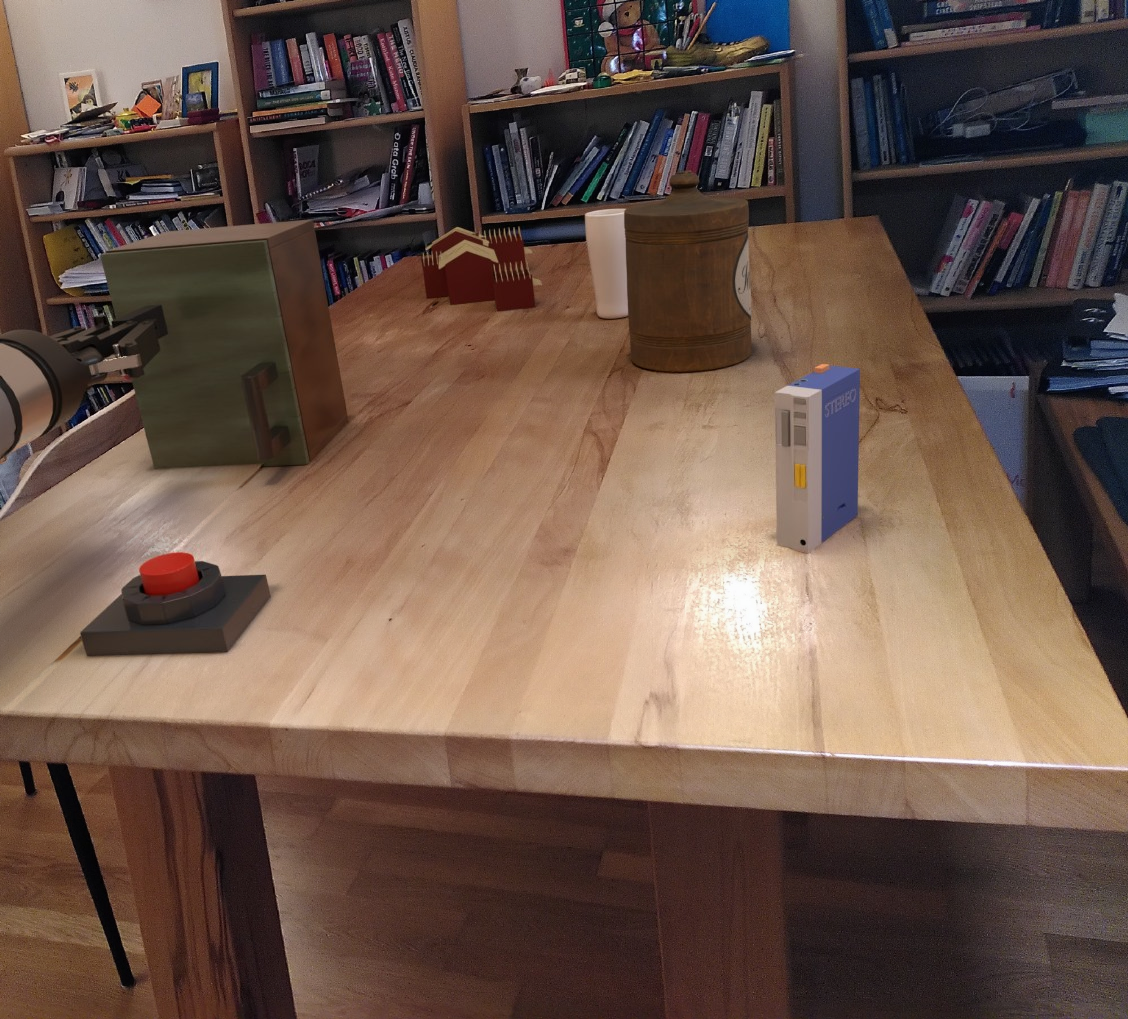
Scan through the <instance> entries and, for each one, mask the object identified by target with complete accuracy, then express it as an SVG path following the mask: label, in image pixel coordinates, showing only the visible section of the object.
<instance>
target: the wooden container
mask: <svg viewBox="0 0 1128 1019" xmlns="http://www.w3.org/2000/svg"><path fill="white" fill-rule="evenodd" d="M699 183H700V179H699V176H698V174H696V173H694V172H693V171H692V170H682V171H676V172H675V174H673V175H671V177H670V178H669V187H671V188H672V190H671V192H670V194H669V195H668V196H667V197H666V198H665V199H664V200H662V201H654V202H647V203H642V204H638V205H634V206H630V207H628V208H625V209H626V210H625V211H624V228H625V238H626V240H625V241H626V271H627V300H628V316H627V317H628V318H627V320H628V332H629V346H630V359H631V362H632V363H633V364H634V365H635V366H637V367H640V368H643V369H645V370H650V371H657V372H666V373H688V372H689V373H690V372H692V373H693V372H702V371H703V372H704V371H712V370H717V369H723V368H726V367H731V366H733V365H736V364H739V363H741V362H743V361H745V360H747V359H748V358H749V357H750V356H751V355H752V296H751V295H752V294H751V293H752V292H751V273H750V272H751V271H750V249H749V247H750V246H749V225H750V224H749V223H750V221H749V220H750V210H749V209H750V208H749V201H748V200H747V199H745V198H739V197H724V196H721V197H720V196H719V197H718V196H716V197H715V196H714V197H713V196H710V197H709V196H707V197H706V196H705V195H704V194H703V193H702V192H701V191H700V190H699V189H698V188H697V187H698V185H699Z"/></svg>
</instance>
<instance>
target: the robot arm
mask: <svg viewBox="0 0 1128 1019" xmlns="http://www.w3.org/2000/svg"><path fill="white" fill-rule="evenodd" d="M92 320H93V321H92V322H93V324H94V326H92V327H91V326H90V327H89V328H86V327H85V326H79V325H78V326H74V327H73V328H70V329H67V330H64V331H61V332H59V333H58V332H57V333H55V334H52V335H48V334H45V333H42V332H41V331H40V332H39V331H36V330H31V329H14V330H10V331H7V332H4V333H1V334H0V465H4V464H5V463H7V461H8V457H7V456H9V455H10V454H13V453H14V452H15V451H17V450H19V449H21V448H22V447H24V446H27V445H28V444H29V443H32V442H33V441H34V440H36V439H38V438H40V437H43V436H44V435H46V434H48V433H50V432H52V431H53V430H56V429H57V428H59V427H60V426H62V425H64V424H65V423H67V422H69V421H70V420H71V419H72V418H73V417H75V414H76V413H77V412H78V410H79V409H80V406H81V404H82V401H83V398H84V395H85V393H86V392H88V391H90V390H91V389H92V388H93V385H97V384H100V383H102V382H103V381H105V380H106V379H107V378H108V373H111V372H115V371H118V373H119V376H121V377H124V376H127V377H128V378H131V377H132V378H138V377H140V376H142V375H144V374H145V373H144V369H143V368H144V367H145V366H146V365H147V364H148V363H149V362H150V361H151V360H152V359H153V358H154V357H155V356H156V355H157V353H158V352H159V351H160V346H159V342H158V339H159V338H161V337H163V336H165V335H167V334H168V330H167V326H166V322H165V317H164V313H163V309H162V305H150V306H144V307H142V308H140V309H138V310H136V311H133V312H131V313H129V314H127V315H124V316H122V317H120V318H118V319H116V318H115V319H113V320H110V323H109V319H108V316H107V314H99V315H95V316H92ZM110 324H111V325H110Z"/></svg>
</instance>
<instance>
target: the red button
mask: <svg viewBox="0 0 1128 1019" xmlns="http://www.w3.org/2000/svg"><path fill="white" fill-rule="evenodd" d="M195 561H196V560H195V557H194V555H193V554H191V553H189V552H184V551H183V552H182V551H181V552H180V551H177V552H168V553H165V554H161V555H157V556H155V557H152V558H150V559H148V560H146V561H144V562H143V563H142V564H141V565H140V566H139V568H138V572H139V575H140V576H141V579H142V583H143V587H144V591H145V594H146V595H149V596H160V595H169V594H173V593H177V592H181V591H184V590H186V589H188V588H190V587H192V586H194V585H196V584H197V583H198V582H199V576H198V572H197V568H196V564H195Z"/></svg>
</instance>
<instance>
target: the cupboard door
mask: <svg viewBox="0 0 1128 1019" xmlns="http://www.w3.org/2000/svg"><path fill="white" fill-rule="evenodd" d="M99 256H100V261H101V264H102V269H103V272H104V277H105V281H106V285H107V288H108V289H107V290H108V292H109V296H110V300H111V304H112V309H113V312H114V315H115V319H118V318H120V317H122V316H124V315H127V314H129V313H131V312H133V311H136V310H138V309H140V308H142V307H144V306H150V305H162V309H163V313H164V317H165V322H166V326H167V330H168V334H167V335H165V336H163V337H161V338H159V339H158V342H159V346H160V351H159V352H158V353H157V355H156V356H155V357H154V358H153V359H152V360H151V361H150V362H149V363H148V364H147V365H146V366H145V367H144V368H143V369H144V373H145V374H144V375H142V376H140V377H138V378H132V377H130V379H131V383H132V387H133V391H134V394H135V398H136V403H137V406H138V410H139V413H140V417H141V421H142V426H143V430H144V433H145V438H146V441H147V445H148V449H149V455H150V458H151V461H152V465H153V469H154V470H162V469H165V470H166V469H183V468H200V467H201V468H203V467H220V466H223V467H224V466H238V465H239V466H241V465H258V464H261V465H260V466H259V468H266V467H268V468H269V467H285V466H286V467H287V466H304V465H309V463H311V462H310V461H309V456H308V450H307V445H306V440H305V435H304V430H303V425H302V419H301V414H300V409H299V404H298V399H297V394H296V389H295V383H294V378H293V373H292V368H291V363H290V358H289V352H288V347H287V342H286V337H285V332H284V327H283V322H282V316H281V311H280V306H279V301H278V296H277V291H276V285H275V280H274V275H273V270H272V265H271V260H270V255H269V249H268V244H267V240H261V241H248V242H236V243H224V244H211V245H199V246H187V247H175V248H162V249H150V250H138V251H125V252H113V253H105V252H104V253H101V254H99Z"/></svg>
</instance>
